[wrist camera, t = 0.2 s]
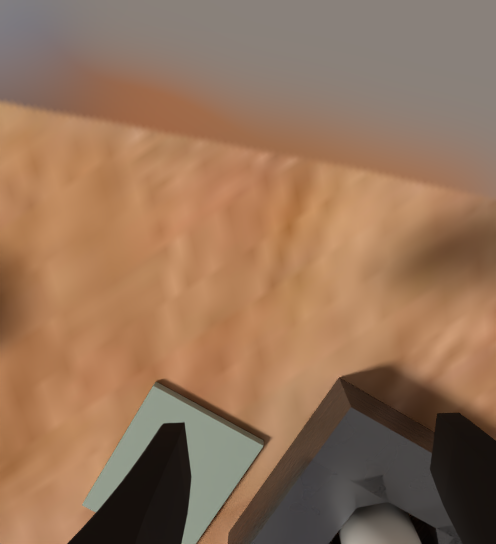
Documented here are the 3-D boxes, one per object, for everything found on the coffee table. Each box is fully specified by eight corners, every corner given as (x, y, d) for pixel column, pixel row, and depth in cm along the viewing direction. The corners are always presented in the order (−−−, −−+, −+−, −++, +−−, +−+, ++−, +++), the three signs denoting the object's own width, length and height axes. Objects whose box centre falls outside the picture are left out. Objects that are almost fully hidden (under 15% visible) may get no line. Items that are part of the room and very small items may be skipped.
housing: (392, 617, 26) (409, 672, 23) (228, 532, 25) (224, 579, 22) (514, 478, 24) (550, 520, 21) (339, 377, 23) (350, 407, 20)
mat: (187, 550, 25) (185, 557, 25) (85, 498, 25) (81, 505, 24) (263, 440, 24) (263, 445, 23) (155, 381, 23) (153, 385, 22)
